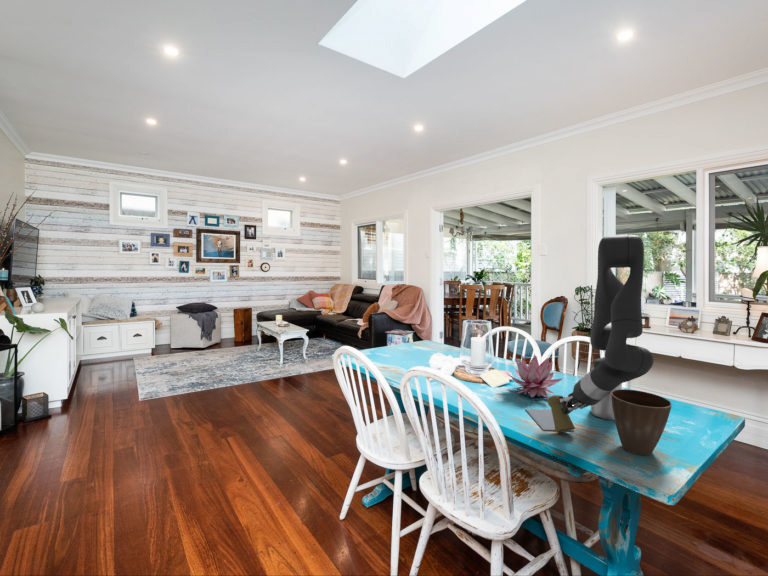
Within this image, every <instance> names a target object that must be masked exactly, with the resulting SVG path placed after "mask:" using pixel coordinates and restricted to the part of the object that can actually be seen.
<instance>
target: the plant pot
mask: <svg viewBox="0 0 768 576" xmlns="http://www.w3.org/2000/svg"><path fill="white" fill-rule="evenodd" d="M611 397H612V407H613V414H614V419H615V420H614V423H615V427H616V431H617V435H618V438H619V441H620V443H621V446H622V448H623V449H624V450H625V451H627V452H629V453H631V454H635V455H639V456H649V455H650V456H651V455H652V454H653V452H654V450H655V448H656V447H657V445H658V444H659V441H660V440H661V437H662V435H663V433H664V431H665V428H666V425H667V424H668V419H669V417H670V413H671V410H672V406H673V404H672V402H671V401H670V400H669V399H667V398H665V397H663V396H661V395H658V394H655V393H651V392H646V391H642V390H635V389H626V388H625V389H620V390H614V391H612V392H611Z"/></svg>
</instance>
